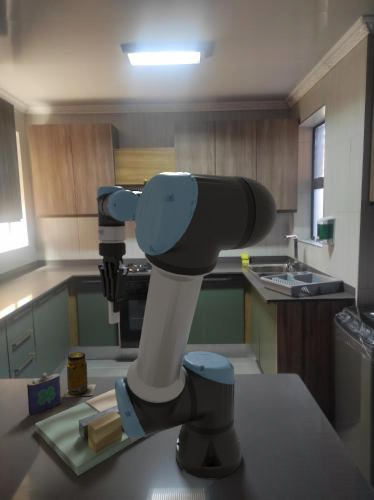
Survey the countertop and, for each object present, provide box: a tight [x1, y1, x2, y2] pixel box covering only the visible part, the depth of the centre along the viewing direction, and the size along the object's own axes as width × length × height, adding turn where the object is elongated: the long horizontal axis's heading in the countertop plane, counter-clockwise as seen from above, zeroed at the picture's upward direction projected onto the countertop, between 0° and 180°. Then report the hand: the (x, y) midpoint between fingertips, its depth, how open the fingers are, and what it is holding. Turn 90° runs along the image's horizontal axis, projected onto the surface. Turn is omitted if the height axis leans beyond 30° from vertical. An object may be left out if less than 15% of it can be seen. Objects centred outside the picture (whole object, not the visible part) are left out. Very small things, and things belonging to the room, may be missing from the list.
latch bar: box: [79, 406, 119, 440], centre depth 83 cm, size 15×4×4 cm, turn 129°
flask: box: [26, 372, 62, 418], centre depth 94 cm, size 9×3×11 cm, turn 138°
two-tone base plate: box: [34, 388, 142, 477], centre depth 86 cm, size 22×24×8 cm
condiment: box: [63, 351, 97, 398], centre depth 104 cm, size 7×8×12 cm
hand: (114, 322), depth 96 cm, fingers closed
